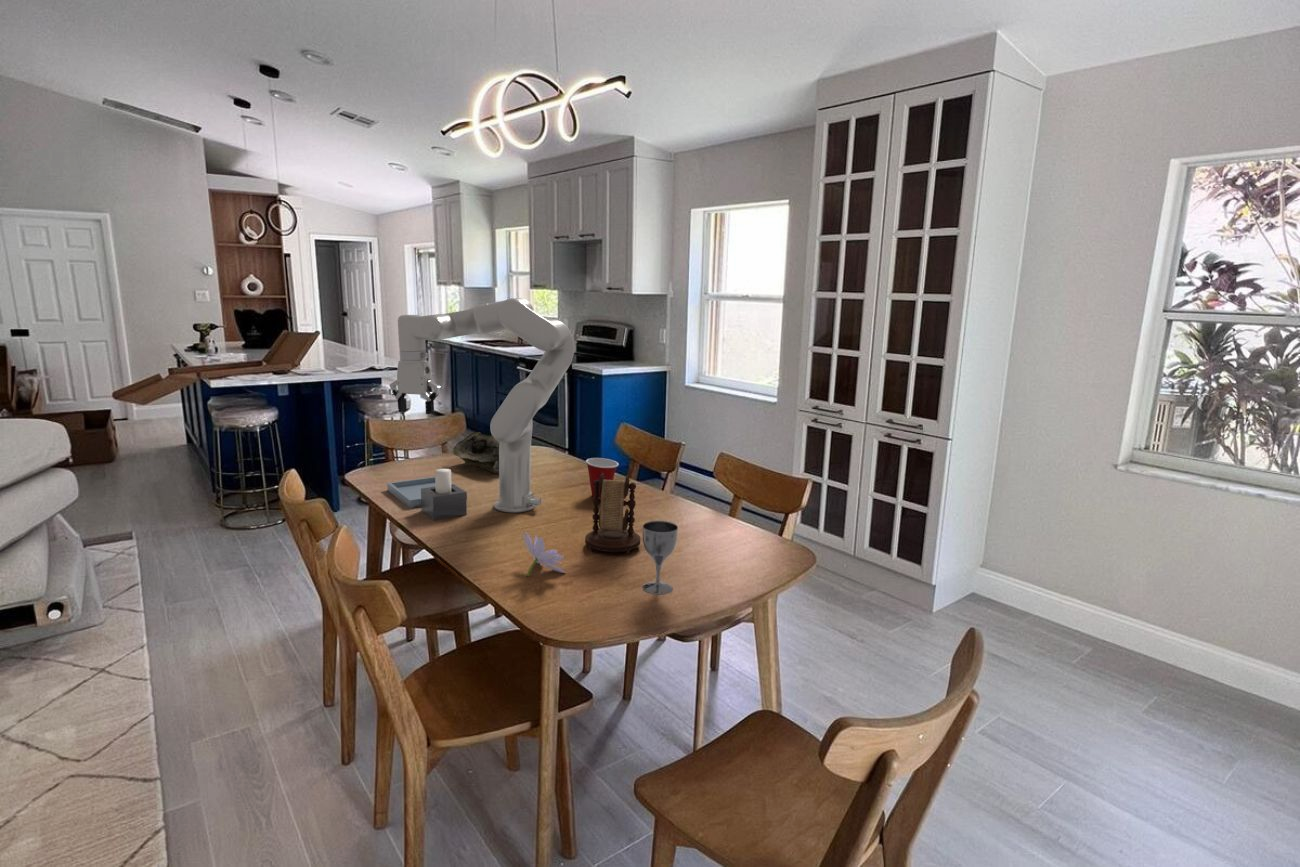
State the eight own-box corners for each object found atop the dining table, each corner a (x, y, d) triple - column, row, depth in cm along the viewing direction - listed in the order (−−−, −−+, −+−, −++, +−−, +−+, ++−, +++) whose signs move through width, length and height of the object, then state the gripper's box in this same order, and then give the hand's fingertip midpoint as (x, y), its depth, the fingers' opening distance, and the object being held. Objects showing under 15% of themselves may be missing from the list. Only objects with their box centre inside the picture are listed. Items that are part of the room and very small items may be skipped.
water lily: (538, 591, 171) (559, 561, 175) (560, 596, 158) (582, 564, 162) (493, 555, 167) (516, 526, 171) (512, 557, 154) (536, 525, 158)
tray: (466, 499, 219) (466, 491, 219) (410, 508, 209) (410, 500, 208) (441, 482, 236) (440, 475, 236) (387, 490, 226) (387, 482, 225)
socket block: (466, 514, 205) (466, 492, 204) (433, 520, 199) (433, 497, 198) (453, 505, 213) (453, 483, 211) (421, 510, 207) (420, 488, 205)
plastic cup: (616, 501, 223) (617, 465, 221) (583, 500, 223) (584, 464, 221) (618, 492, 234) (619, 457, 231) (587, 490, 234) (587, 456, 231)
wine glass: (673, 580, 164) (676, 521, 161) (675, 595, 156) (679, 532, 153) (640, 580, 164) (642, 520, 161) (640, 594, 156) (643, 531, 153)
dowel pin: (454, 510, 205) (453, 471, 203) (439, 512, 202) (438, 473, 200) (448, 506, 209) (447, 468, 206) (433, 508, 206) (432, 469, 204)
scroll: (579, 554, 178) (580, 479, 174) (591, 535, 192) (593, 465, 188) (635, 559, 176) (638, 484, 172) (644, 539, 191) (646, 469, 186)
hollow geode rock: (506, 490, 248) (532, 457, 252) (483, 470, 239) (510, 436, 244) (468, 470, 267) (492, 440, 272) (446, 451, 259) (471, 421, 264)
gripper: (445, 356, 208) (447, 412, 212) (396, 354, 213) (399, 408, 217) (430, 358, 201) (433, 416, 205) (380, 356, 206) (384, 412, 210)
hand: (416, 412), depth 211 cm, fingers open, 9 cm apart
